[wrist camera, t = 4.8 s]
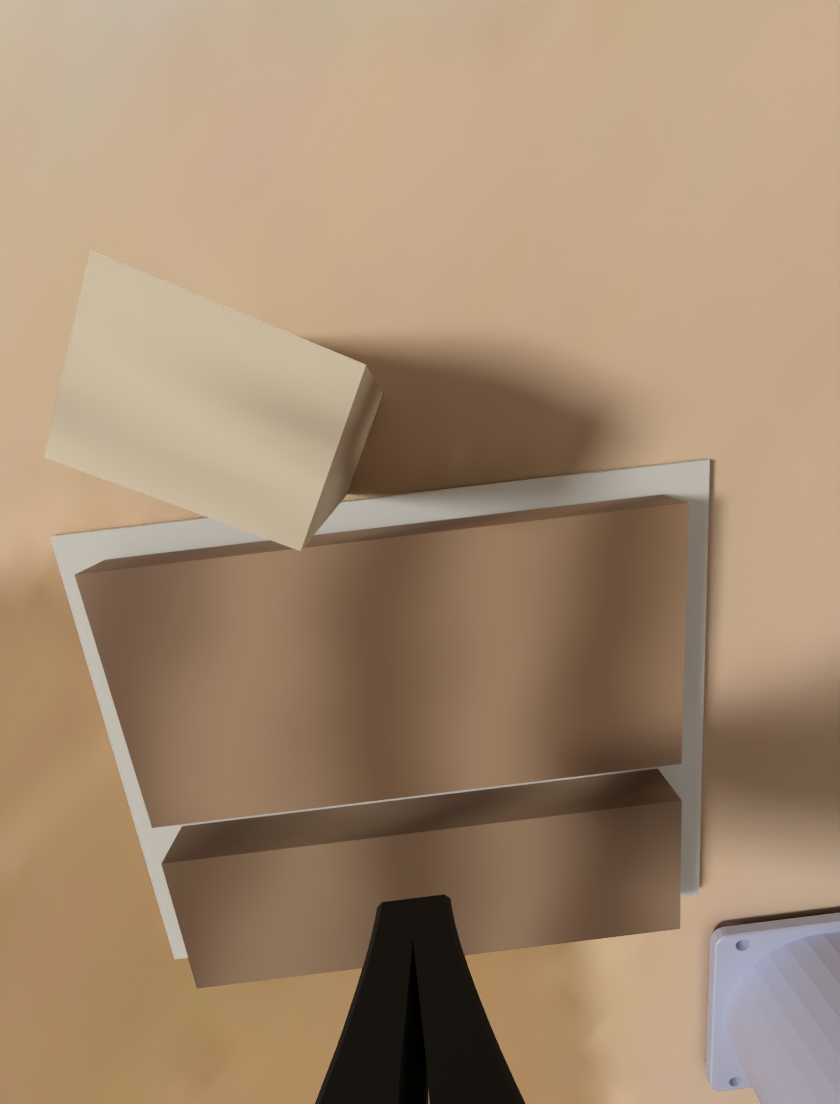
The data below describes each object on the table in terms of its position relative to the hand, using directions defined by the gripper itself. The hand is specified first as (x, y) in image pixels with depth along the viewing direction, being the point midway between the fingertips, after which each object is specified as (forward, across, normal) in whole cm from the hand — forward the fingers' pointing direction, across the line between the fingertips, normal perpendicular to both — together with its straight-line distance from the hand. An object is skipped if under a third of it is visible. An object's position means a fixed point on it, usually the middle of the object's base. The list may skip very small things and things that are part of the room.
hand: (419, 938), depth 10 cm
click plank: (+7, 0, -3) cm, 7 cm away
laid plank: (+7, 0, +5) cm, 8 cm away
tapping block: (+4, +3, -9) cm, 10 cm away
